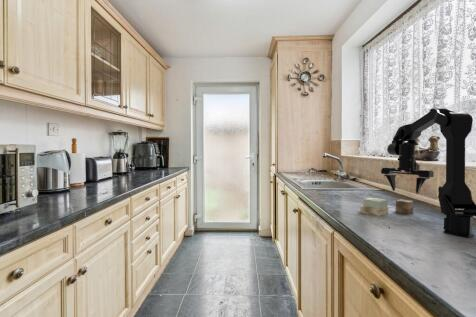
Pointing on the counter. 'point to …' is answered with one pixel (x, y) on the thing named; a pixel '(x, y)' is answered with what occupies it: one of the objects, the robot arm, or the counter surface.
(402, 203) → the walnut cube
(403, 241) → the counter surface
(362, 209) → the beech slab
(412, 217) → the counter surface
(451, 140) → the robot arm
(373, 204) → the sage slab
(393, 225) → the counter surface
